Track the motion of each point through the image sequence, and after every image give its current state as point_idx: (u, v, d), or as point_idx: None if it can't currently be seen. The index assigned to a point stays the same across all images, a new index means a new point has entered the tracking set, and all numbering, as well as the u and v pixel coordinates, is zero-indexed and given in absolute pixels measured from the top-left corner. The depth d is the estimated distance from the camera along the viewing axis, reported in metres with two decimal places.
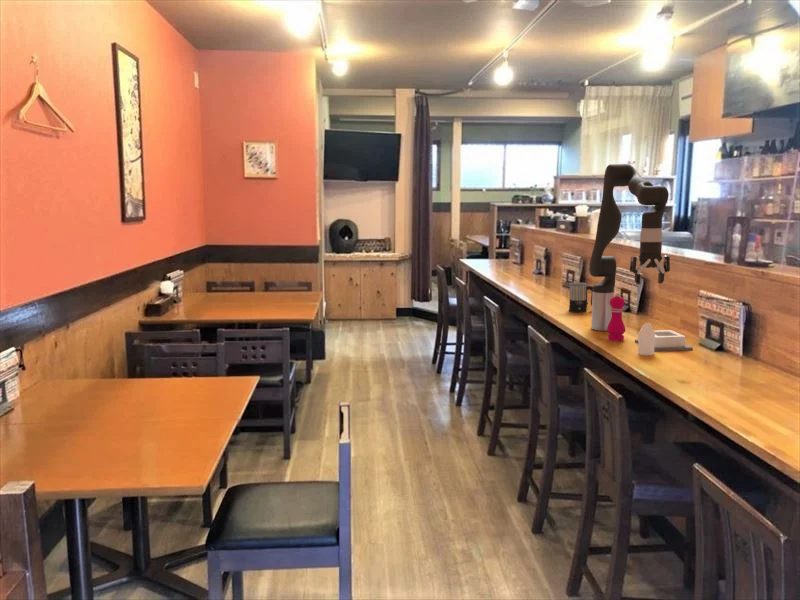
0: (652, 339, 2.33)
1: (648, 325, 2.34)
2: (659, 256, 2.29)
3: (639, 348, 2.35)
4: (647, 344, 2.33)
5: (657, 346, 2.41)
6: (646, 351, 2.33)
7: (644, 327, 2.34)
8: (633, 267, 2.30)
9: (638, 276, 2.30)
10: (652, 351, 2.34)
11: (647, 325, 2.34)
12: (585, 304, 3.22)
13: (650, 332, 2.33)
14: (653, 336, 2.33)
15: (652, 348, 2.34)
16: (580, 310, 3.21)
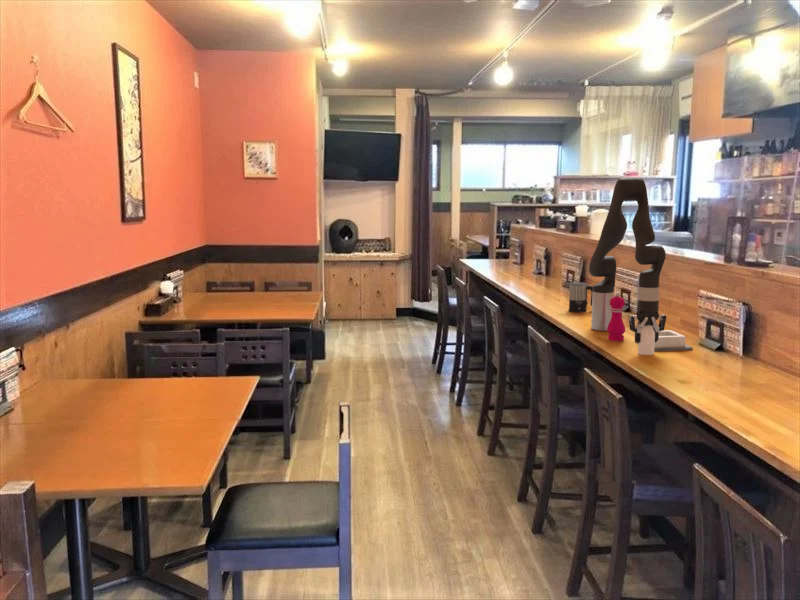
0: (652, 339, 2.33)
1: (648, 325, 2.34)
2: (656, 314, 2.33)
3: (639, 348, 2.35)
4: (647, 343, 2.33)
5: (657, 346, 2.41)
6: (646, 350, 2.33)
7: (644, 327, 2.34)
8: (632, 326, 2.33)
9: (638, 335, 2.34)
10: (652, 351, 2.34)
11: (647, 325, 2.34)
12: (585, 304, 3.22)
13: (650, 332, 2.33)
14: (653, 336, 2.33)
15: (652, 348, 2.34)
16: (580, 310, 3.21)
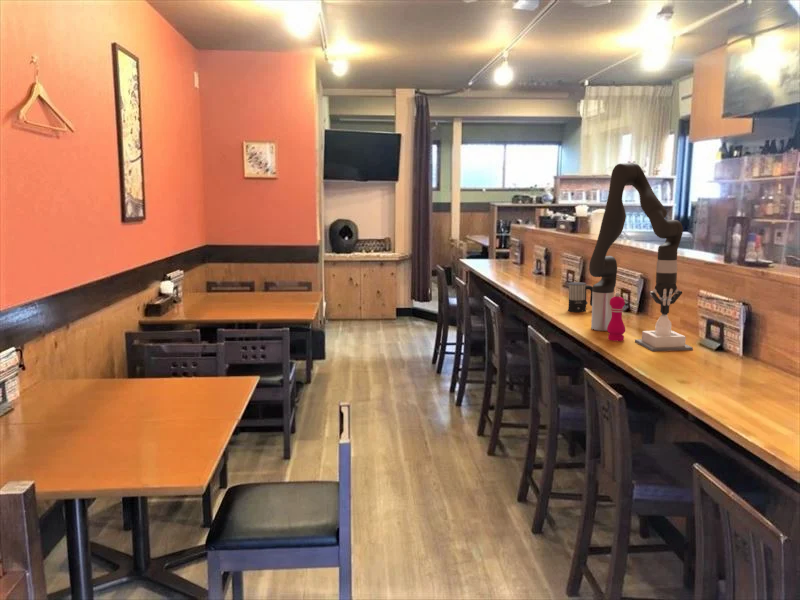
0: (669, 329, 2.44)
1: (665, 316, 2.46)
2: (675, 286, 2.43)
3: None
4: (664, 334, 2.44)
5: (657, 346, 2.41)
6: None
7: (661, 318, 2.46)
8: (657, 300, 2.43)
9: (664, 307, 2.44)
10: None
11: (664, 316, 2.46)
12: (584, 304, 3.23)
13: (667, 322, 2.44)
14: (670, 326, 2.44)
15: None
16: (579, 310, 3.22)
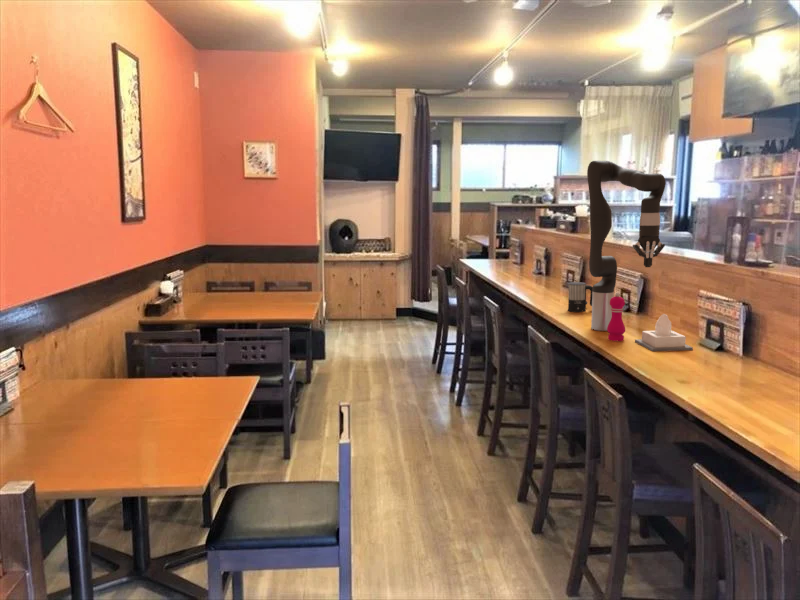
0: (669, 329, 2.44)
1: (665, 316, 2.46)
2: (658, 239, 2.48)
3: None
4: (664, 334, 2.44)
5: (657, 346, 2.41)
6: None
7: (661, 318, 2.46)
8: (640, 253, 2.48)
9: (647, 260, 2.49)
10: None
11: (664, 316, 2.46)
12: (584, 304, 3.23)
13: (667, 322, 2.44)
14: (670, 326, 2.44)
15: None
16: (579, 310, 3.22)
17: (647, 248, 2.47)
